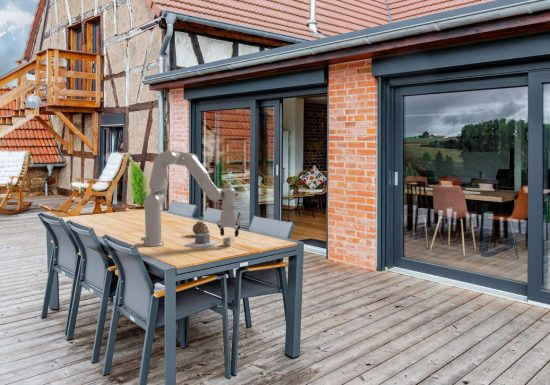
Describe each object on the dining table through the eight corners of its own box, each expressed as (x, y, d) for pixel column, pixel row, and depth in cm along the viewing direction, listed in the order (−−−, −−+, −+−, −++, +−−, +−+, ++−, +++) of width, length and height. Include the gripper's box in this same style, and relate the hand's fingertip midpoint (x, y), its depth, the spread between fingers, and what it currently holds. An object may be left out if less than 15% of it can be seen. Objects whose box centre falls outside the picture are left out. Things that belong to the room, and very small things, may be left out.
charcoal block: (195, 243, 298) (195, 235, 298) (200, 241, 304) (200, 233, 304) (204, 243, 296) (204, 235, 295) (209, 242, 302) (209, 234, 301)
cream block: (223, 245, 296) (223, 237, 296) (226, 244, 301) (226, 236, 301) (230, 246, 295) (230, 238, 294) (234, 245, 299) (234, 237, 299)
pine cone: (188, 235, 332) (188, 220, 331) (201, 233, 338) (201, 219, 337) (204, 240, 314) (204, 225, 314) (217, 238, 320) (217, 223, 319)
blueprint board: (185, 246, 294) (185, 244, 294) (200, 241, 311) (200, 239, 311) (205, 247, 289) (205, 246, 289) (219, 242, 306) (219, 240, 306)
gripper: (213, 208, 296) (214, 236, 297) (239, 209, 289) (239, 237, 291) (219, 207, 303) (219, 234, 304) (244, 208, 296) (244, 235, 298)
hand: (229, 235), depth 297 cm, fingers open, 9 cm apart
